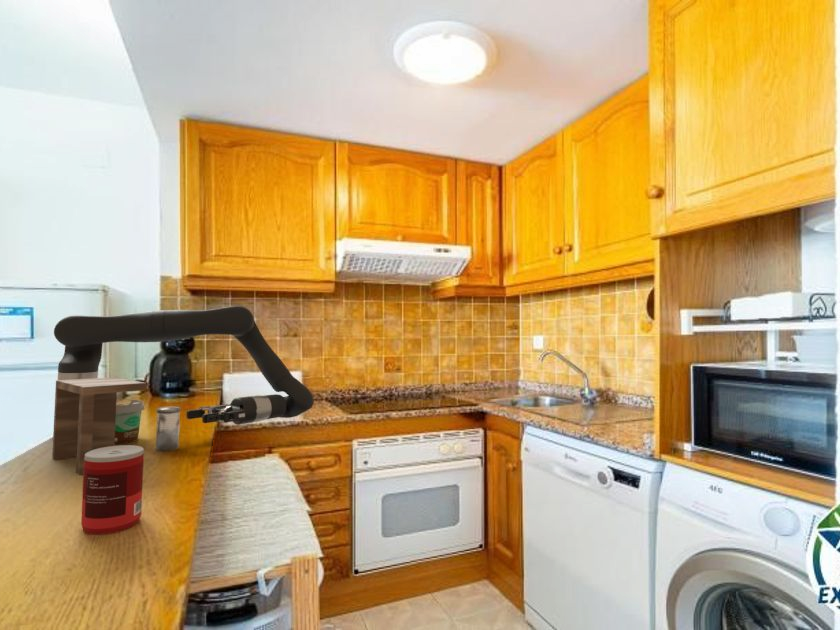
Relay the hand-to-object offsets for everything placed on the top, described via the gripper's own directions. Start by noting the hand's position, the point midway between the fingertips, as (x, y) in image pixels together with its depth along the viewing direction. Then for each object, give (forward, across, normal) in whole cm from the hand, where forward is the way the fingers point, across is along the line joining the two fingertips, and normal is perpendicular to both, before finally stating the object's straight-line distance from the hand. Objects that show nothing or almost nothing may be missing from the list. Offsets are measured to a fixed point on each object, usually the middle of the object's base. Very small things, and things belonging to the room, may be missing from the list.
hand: (194, 416), depth 122 cm
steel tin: (+7, 0, +7) cm, 10 cm away
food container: (+10, -16, +7) cm, 20 cm away
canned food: (+32, +41, +7) cm, 53 cm away
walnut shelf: (+22, 0, +7) cm, 23 cm away
